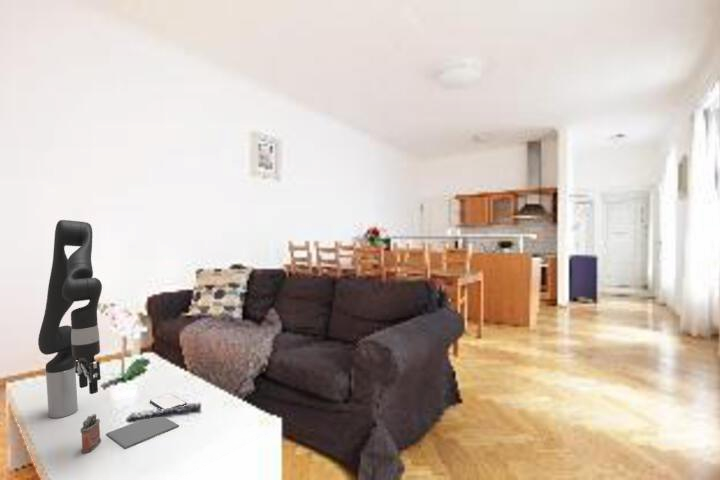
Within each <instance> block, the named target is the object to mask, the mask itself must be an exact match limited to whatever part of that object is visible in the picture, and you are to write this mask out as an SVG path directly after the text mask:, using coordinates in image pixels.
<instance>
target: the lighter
mask: <svg viewBox="0 0 720 480" xmlns="http://www.w3.org/2000/svg"><path fill="white" fill-rule="evenodd" d="M100 429H101V428H100V418H97V414H96V413H93V414H91V415H87V418H86V419H85V420H83V422H82V427H81V428H80V433H81V448H82V449H81V454H84V455H85V454H89V453H91V452H92V451H93V450H95V449H96V448H97V447H99V445H100V444H101V442H102V438H101V432H100V431H101V430H100Z"/></svg>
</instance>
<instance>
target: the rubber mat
mask: <svg viewBox="0 0 720 480" xmlns="http://www.w3.org/2000/svg"><path fill="white" fill-rule="evenodd" d="M179 427H180V424H178V423H176V422H174V421H173V420H170V419H169V418H167V417H166V416H164V417H158V418H150V419H145V418H143V419H141V420H137V421H135V422H132V423H130V424H128V425H124V426H122V427H119V428H115V429H114V430H112V431H109V432H105V433H106V434H105V435H106V436H107V437H108V438H109V439H111V440H112V441H114V443H116V444H118V445H119V446H120V447H121V448H123V449H124V450H126V449H129V448H132V447H134V446H136V445H138V444H141V443H143V442H146V441H148V440H151V439H153V438H156V437H158V436H161V435H163V434H166V433H168V432H170V431H172V430H175V429H177V428H179ZM162 433H163V434H162ZM157 435H158V436H157ZM155 436H156V437H155ZM150 438H151V439H150Z"/></svg>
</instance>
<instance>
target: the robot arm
mask: <svg viewBox="0 0 720 480" xmlns="http://www.w3.org/2000/svg"><path fill="white" fill-rule="evenodd" d="M65 247H78V248H77V249H76V250H75V251H73V252H72V253H71V255H70V256H69V257H67V254H66V250H65ZM92 251H93V226H92V225H91V223H90V222H86V221H78V220H77V221H76V220H69V219H61V220H59V221H57V223H56V226H55V230H54V239H53V255H52V262H51V263H52V264H51V270H50V276H49V281H48V287H47V295H46V296H47V297H46V304H45V309H44V315H43V318H42V319H43V320H42V322H41V327H40V330H39V333H38V340H37V341H38V343H37V344H38V349H39V351H40V352H41V353H42V354H43V355H47V356H48V355H53V354H55V355H54V357H53V358H52V359H51V360H50V361H48V362H47V363H46V364H45V377H46V378H45V379H46V394H47V408H48V409H47V411H48V413H47V414H48V418H50V419H57V418H63V417H68V416H70V415H73V414H74V413H77V412H78V410H79V409H78V408H79V405H78V390H77V377H78V383H79V384H78V385H79V388H81V389H84V388H86V387H88V390H89V394H90V395H93V394H96V393H98V392H99V385H98V381H100V380H101V378H102V377H101V367H100V360H96V358H95V356H97V355H99V354H100V353H101V345H100V343H101V342H100V330H99V325H98V307H99V301H100V297H101V294H102V290H103V285H102V282H101V281H100V279H98V278H97V277H93V276H94V270H93V265H92ZM83 301H88V303H87V304H85V305H84V306H81V307H78V308H75V309H73V310H71V312H70V322H71V323H70V325H67V324H66V325H61V322H62V320H63V318H64V316H65V315H66V314H67V312H68V311H69V310H70V308H71V306H72V305H73V304H74V302H83ZM60 325H61V326H60Z"/></svg>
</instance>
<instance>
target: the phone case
mask: <svg viewBox="0 0 720 480" xmlns="http://www.w3.org/2000/svg"><path fill="white" fill-rule="evenodd" d="M149 403H150V405H152V406H154V407H155V408H156V407H157V408H156V409H158V408H160V409H166V408H171V407H179V406H184V405H187V404H188V403H187V402H186V401H184V400H182V399H181V398H180V397H177V396H176V395H173V394H172V393H168V394H165V395H161V396H158V397H155V398H152V399H150V400H149ZM187 406H188V405H187Z"/></svg>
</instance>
